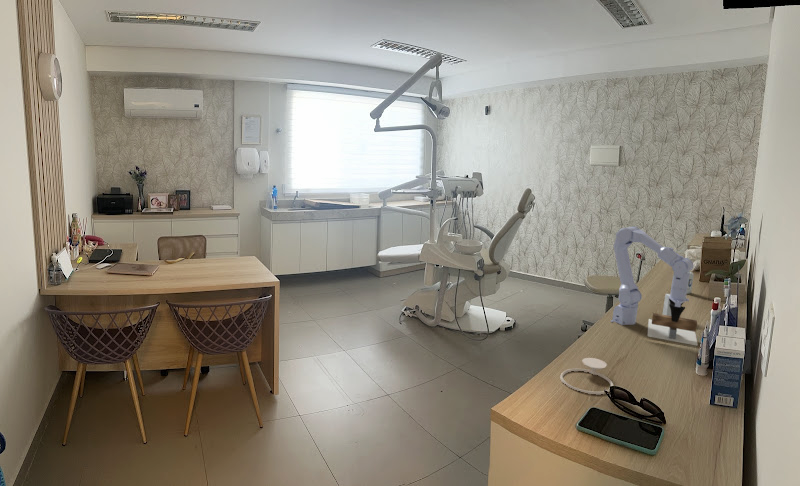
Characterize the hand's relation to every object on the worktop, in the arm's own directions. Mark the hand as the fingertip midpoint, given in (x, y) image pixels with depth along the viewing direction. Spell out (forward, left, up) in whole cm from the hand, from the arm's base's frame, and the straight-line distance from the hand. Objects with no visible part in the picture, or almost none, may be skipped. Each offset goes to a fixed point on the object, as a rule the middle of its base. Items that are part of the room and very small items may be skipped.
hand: (674, 318), depth 197 cm
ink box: (+62, +53, -9) cm, 82 cm away
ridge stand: (+4, +4, -9) cm, 10 cm away
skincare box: (+18, +18, -9) cm, 27 cm away
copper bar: (0, 0, -4) cm, 4 cm away
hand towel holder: (-60, -23, -9) cm, 65 cm away
